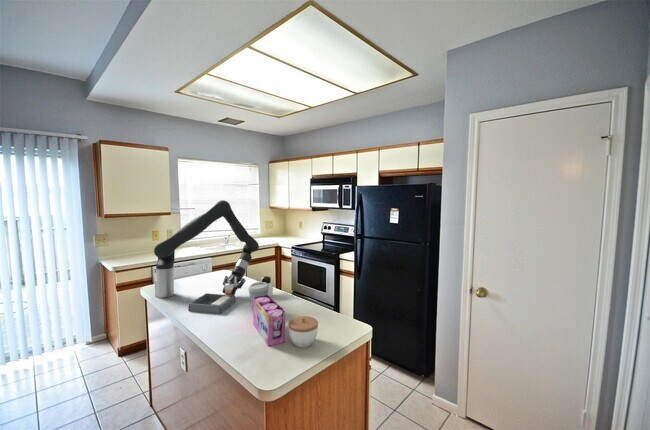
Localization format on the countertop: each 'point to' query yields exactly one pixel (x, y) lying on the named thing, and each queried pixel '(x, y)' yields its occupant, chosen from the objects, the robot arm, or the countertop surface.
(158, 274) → the robot arm
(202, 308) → the tote
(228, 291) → the silver lidded jar
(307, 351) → the countertop surface
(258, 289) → the disposable coffee cup
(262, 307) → the gum box
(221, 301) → the cream rectangular block
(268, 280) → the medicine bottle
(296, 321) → the lidded bowl
